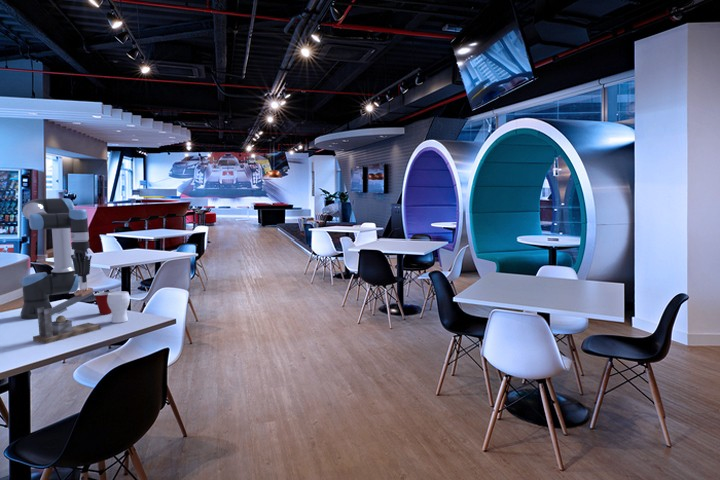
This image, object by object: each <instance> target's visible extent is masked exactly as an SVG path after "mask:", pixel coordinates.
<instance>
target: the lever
mask: <svg viewBox="0 0 720 480" xmlns="http://www.w3.org/2000/svg"><path fill="white" fill-rule="evenodd" d="M93 292H94V288H93V287H88V286H87V289H82V290H81V289H80V288H79V289H77V291H75V292H73V295H74V296H73V297H71V298H69V299H67V300H65V301H63V302H61V303H59V304H57V305H54V306H52V308H50V309H51V316H52V315H55V314H57V315H60V314H62V313H65V312H66V311H68V308H69V307H70V306H73V305H75V304H77V303H78V302H80V301H83V300H85V299H87V298H88V297H91V296H94V293H93ZM42 314H43V316H44V312H42Z"/></svg>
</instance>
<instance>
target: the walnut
mask: <svg viewBox="0 0 720 480" xmlns="http://www.w3.org/2000/svg"><path fill="white" fill-rule="evenodd" d="M66 320H67V318H66V317H65V316H64V315H58V316H57V317H56V318H55V321H56V322H57V323H63V322H65V321H66Z"/></svg>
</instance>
